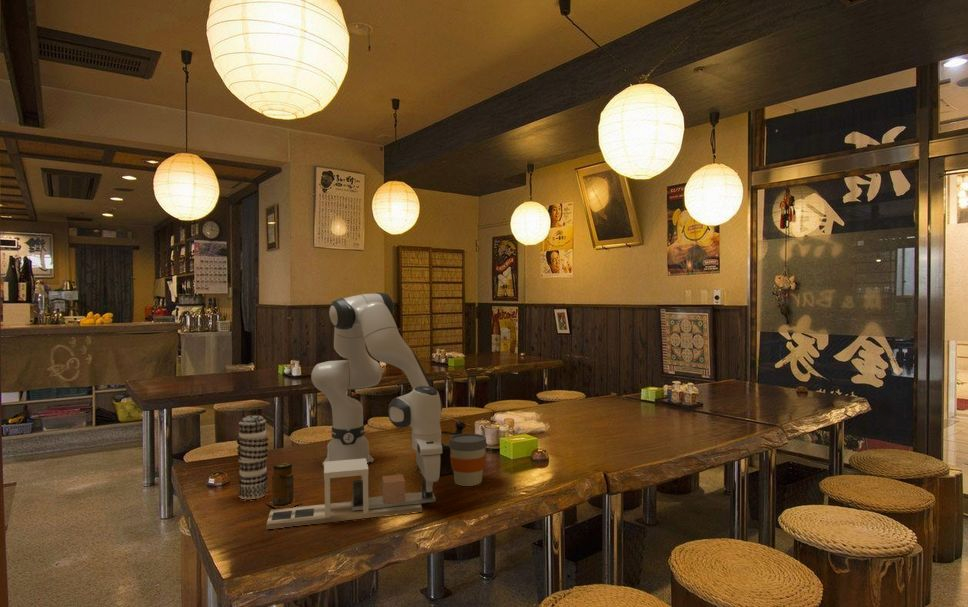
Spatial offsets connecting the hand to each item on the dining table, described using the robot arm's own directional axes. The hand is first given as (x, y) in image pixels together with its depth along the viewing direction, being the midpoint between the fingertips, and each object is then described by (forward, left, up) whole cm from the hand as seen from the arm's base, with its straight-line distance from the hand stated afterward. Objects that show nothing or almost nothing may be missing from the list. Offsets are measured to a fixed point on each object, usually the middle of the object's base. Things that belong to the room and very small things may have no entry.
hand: (427, 487), depth 165 cm
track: (0, -24, -5) cm, 24 cm away
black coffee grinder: (-31, +10, -5) cm, 33 cm away
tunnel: (0, -24, -4) cm, 24 cm away
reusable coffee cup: (-16, +16, -5) cm, 24 cm away
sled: (0, -10, -3) cm, 11 cm away
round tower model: (-24, -52, -5) cm, 57 cm away
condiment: (-13, -42, -5) cm, 44 cm away
